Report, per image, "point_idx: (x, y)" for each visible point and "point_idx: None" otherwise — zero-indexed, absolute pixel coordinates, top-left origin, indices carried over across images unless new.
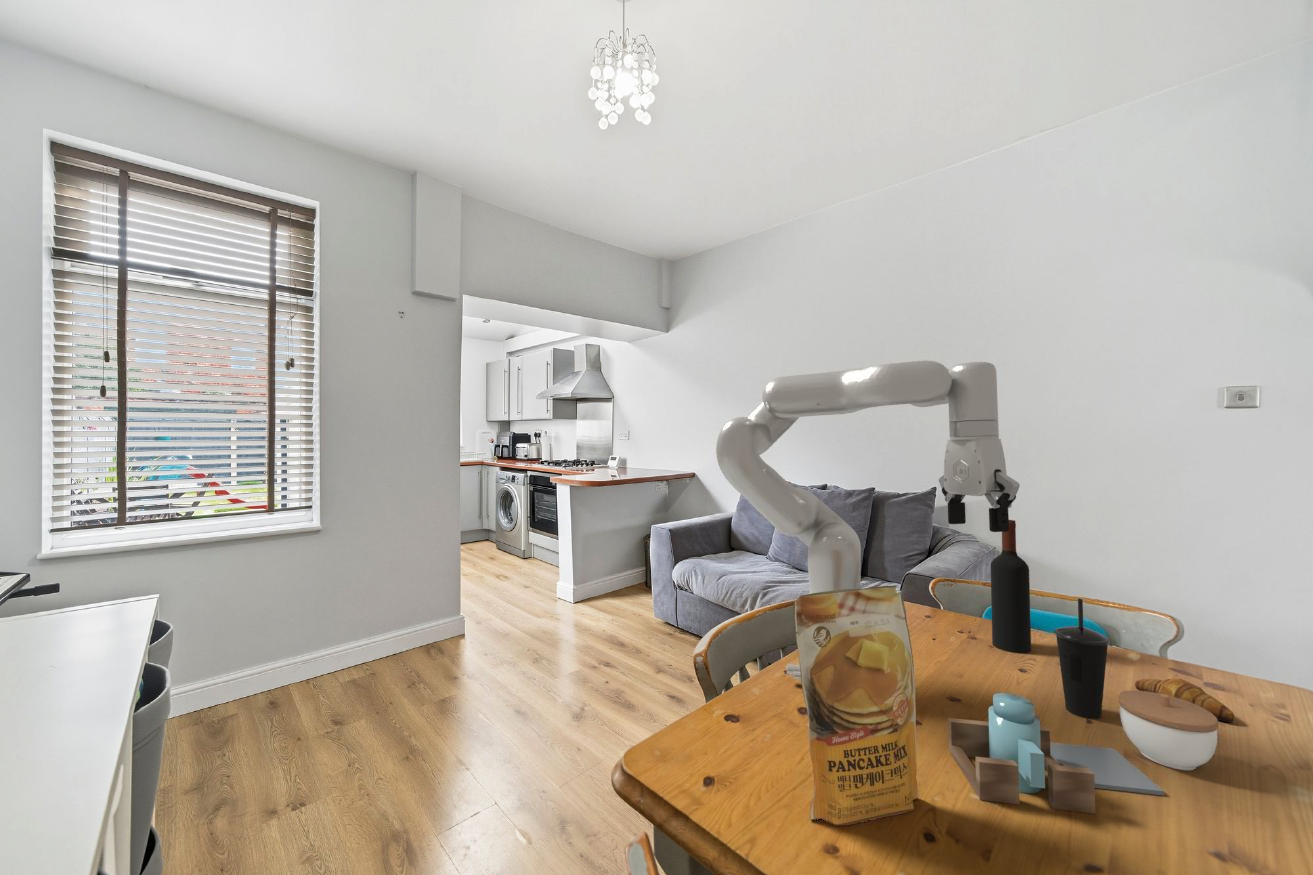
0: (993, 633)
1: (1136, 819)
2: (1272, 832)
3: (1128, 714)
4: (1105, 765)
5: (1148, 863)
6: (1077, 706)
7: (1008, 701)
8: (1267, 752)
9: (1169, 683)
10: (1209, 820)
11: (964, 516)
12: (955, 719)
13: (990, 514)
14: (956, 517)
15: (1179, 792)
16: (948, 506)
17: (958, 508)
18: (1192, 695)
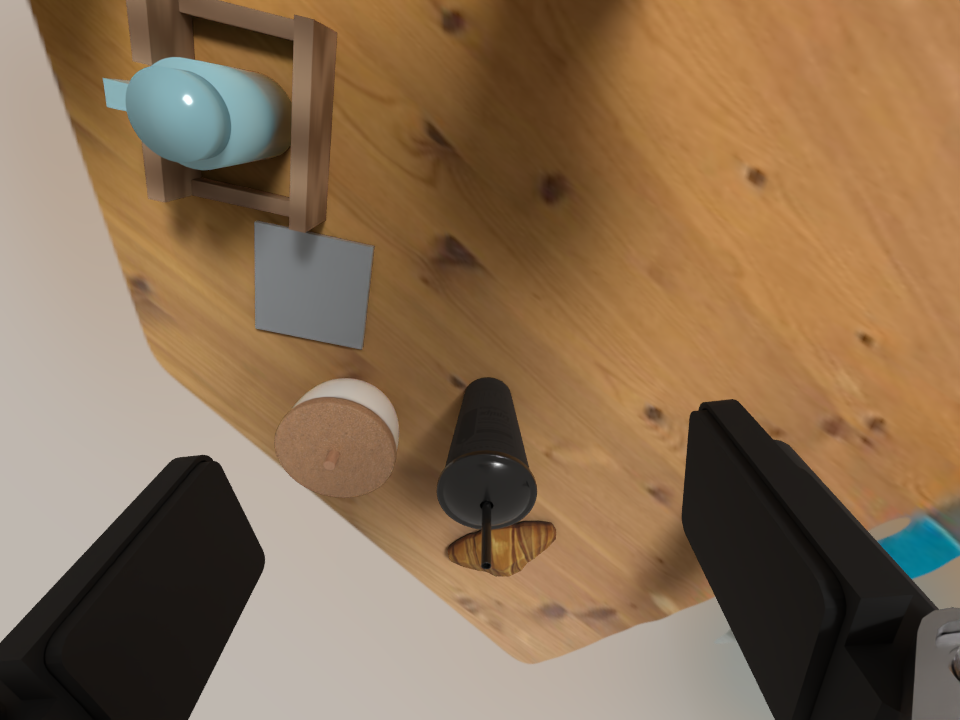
0: (792, 457)
1: (190, 241)
2: (207, 383)
3: (338, 395)
4: (310, 299)
5: (90, 177)
6: (473, 387)
7: (162, 99)
8: (382, 522)
9: (504, 551)
10: (213, 335)
11: (708, 570)
12: (308, 36)
13: (75, 581)
14: (711, 494)
15: (271, 351)
16: (843, 540)
17: (764, 608)
18: (477, 551)
